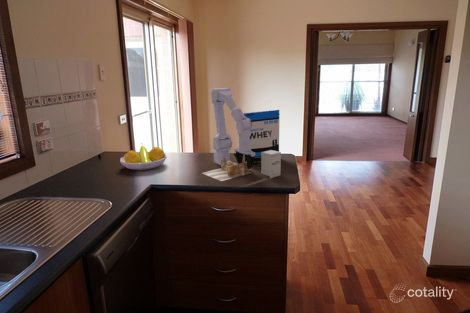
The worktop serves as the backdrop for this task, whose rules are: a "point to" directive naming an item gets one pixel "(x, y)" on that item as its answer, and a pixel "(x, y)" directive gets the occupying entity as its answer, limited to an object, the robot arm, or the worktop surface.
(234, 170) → the wooden block
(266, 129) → the protein powder
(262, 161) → the supplement box
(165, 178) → the worktop surface
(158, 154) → the fruit bowl
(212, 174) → the halving base
